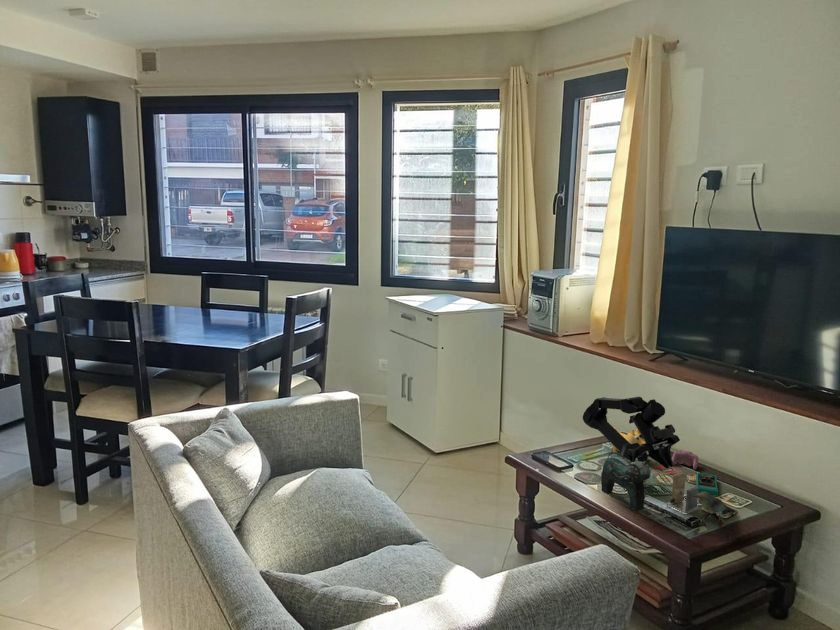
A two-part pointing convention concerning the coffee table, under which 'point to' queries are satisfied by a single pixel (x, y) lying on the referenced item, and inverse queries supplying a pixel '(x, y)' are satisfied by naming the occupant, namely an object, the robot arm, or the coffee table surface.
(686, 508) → the gauge base
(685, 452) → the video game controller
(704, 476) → the digital multimeter
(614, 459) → the green animal figurine
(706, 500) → the bird figurine
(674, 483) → the light brown wooden block
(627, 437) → the dog
